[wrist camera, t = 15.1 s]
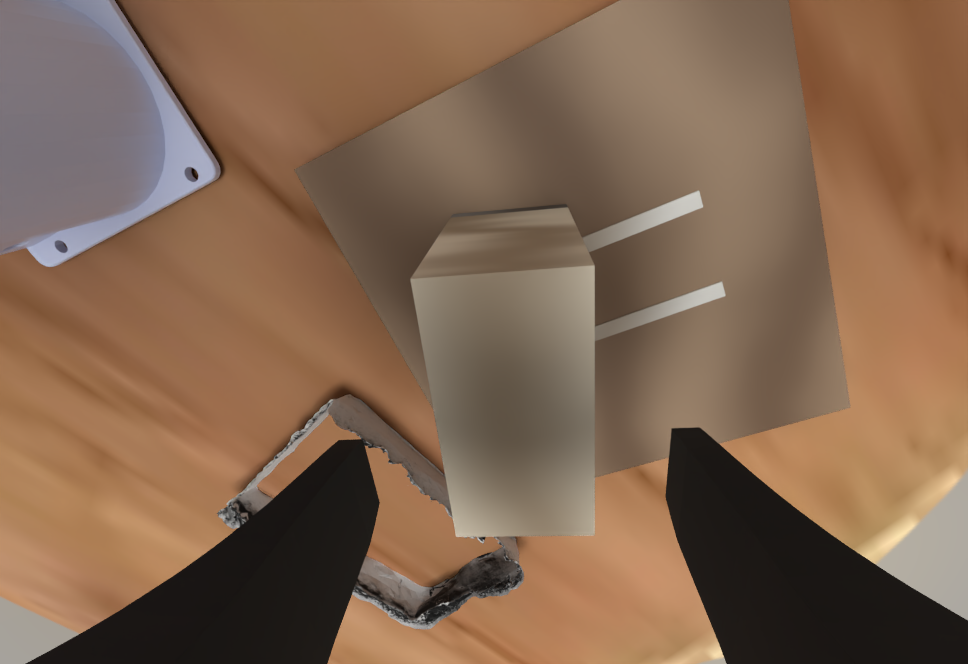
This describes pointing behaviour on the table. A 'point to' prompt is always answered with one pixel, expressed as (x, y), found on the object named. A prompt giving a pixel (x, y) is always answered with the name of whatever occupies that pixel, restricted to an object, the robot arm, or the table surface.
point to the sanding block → (512, 370)
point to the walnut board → (628, 211)
